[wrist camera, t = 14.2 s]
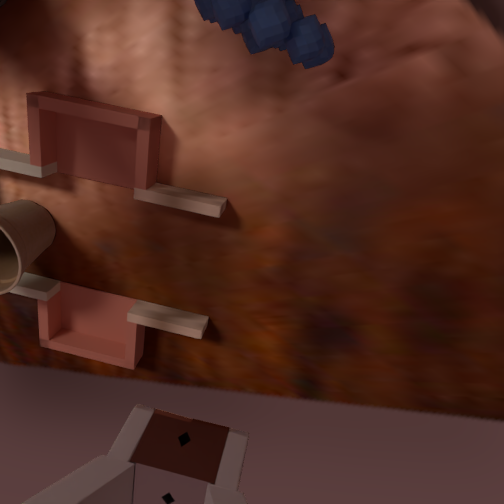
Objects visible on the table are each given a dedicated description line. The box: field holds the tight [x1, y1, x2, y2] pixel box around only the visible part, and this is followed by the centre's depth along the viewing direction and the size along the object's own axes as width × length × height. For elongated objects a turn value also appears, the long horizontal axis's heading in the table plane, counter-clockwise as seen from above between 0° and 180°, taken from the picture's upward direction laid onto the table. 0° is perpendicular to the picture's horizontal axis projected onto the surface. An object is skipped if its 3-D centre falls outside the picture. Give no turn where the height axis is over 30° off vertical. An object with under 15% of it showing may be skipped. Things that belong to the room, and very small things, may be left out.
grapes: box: [194, 0, 335, 69], centre depth 31 cm, size 12×7×12 cm, turn 67°
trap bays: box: [26, 91, 162, 370], centre depth 47 cm, size 12×30×3 cm, turn 170°
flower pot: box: [0, 200, 56, 295], centre depth 45 cm, size 9×9×9 cm
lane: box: [127, 183, 227, 339], centre depth 47 cm, size 9×16×3 cm, turn 170°
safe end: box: [0, 148, 61, 301], centre depth 48 cm, size 10×16×3 cm, turn 170°
